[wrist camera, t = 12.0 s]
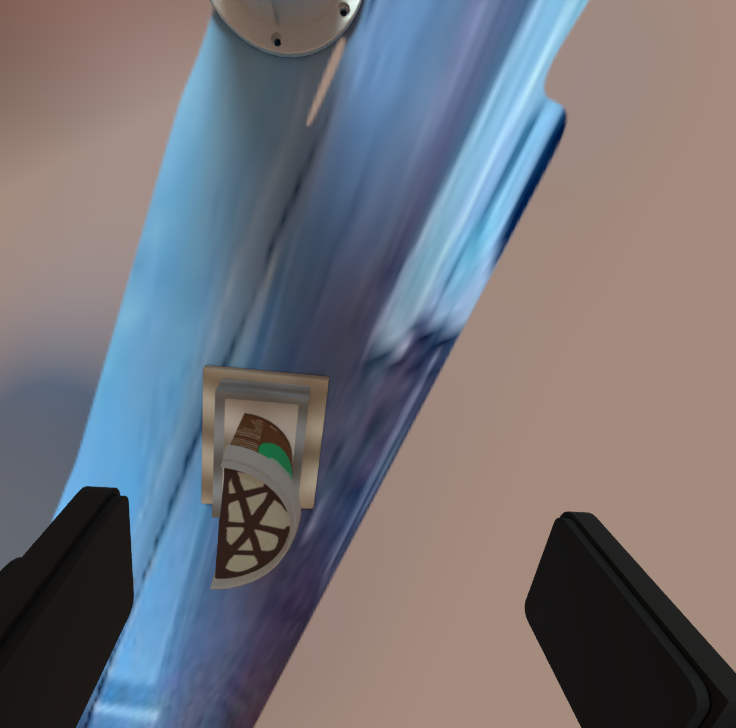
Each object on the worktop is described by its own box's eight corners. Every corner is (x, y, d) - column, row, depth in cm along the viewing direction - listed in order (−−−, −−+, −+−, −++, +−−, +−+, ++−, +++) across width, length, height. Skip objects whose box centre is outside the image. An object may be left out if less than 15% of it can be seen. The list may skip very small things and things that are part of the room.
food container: (296, 513, 43) (289, 598, 33) (234, 508, 42) (209, 594, 32) (313, 406, 39) (310, 468, 29) (245, 398, 38) (220, 459, 28)
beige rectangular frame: (206, 364, 40) (194, 380, 37) (328, 376, 42) (329, 392, 38) (203, 497, 46) (193, 523, 42) (313, 502, 47) (312, 528, 44)
